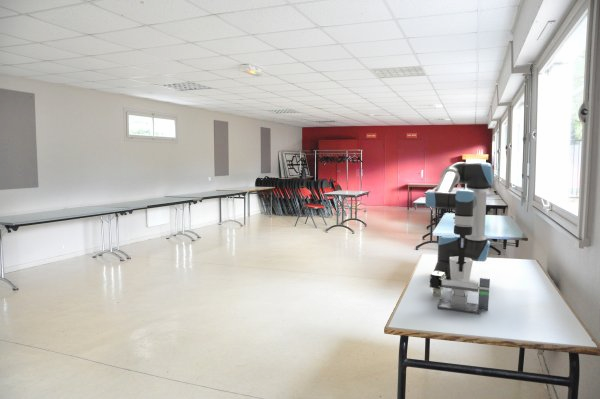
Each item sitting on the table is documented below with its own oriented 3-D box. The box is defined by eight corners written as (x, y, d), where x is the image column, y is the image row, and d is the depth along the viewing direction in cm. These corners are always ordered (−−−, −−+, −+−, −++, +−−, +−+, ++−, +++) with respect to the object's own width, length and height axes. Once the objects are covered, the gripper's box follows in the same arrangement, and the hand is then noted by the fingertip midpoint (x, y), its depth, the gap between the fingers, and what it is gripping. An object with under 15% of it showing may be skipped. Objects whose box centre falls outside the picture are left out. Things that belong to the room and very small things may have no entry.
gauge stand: (487, 307, 190) (489, 276, 189) (488, 315, 180) (490, 283, 179) (439, 301, 198) (440, 271, 196) (437, 308, 188) (439, 277, 186)
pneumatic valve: (428, 297, 202) (429, 272, 201) (435, 291, 212) (436, 267, 211) (440, 299, 200) (441, 274, 198) (446, 293, 209) (447, 269, 208)
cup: (472, 297, 204) (474, 262, 203) (449, 295, 206) (451, 260, 205) (467, 290, 215) (469, 257, 214) (446, 288, 217) (448, 255, 216)
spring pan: (487, 298, 189) (488, 284, 188) (488, 304, 181) (489, 290, 180) (442, 292, 196) (442, 279, 195) (440, 298, 188) (441, 284, 187)
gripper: (454, 222, 193) (451, 273, 196) (453, 226, 181) (450, 280, 184) (472, 223, 191) (469, 275, 193) (472, 228, 179) (469, 283, 181)
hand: (460, 278), depth 188 cm, fingers closed
